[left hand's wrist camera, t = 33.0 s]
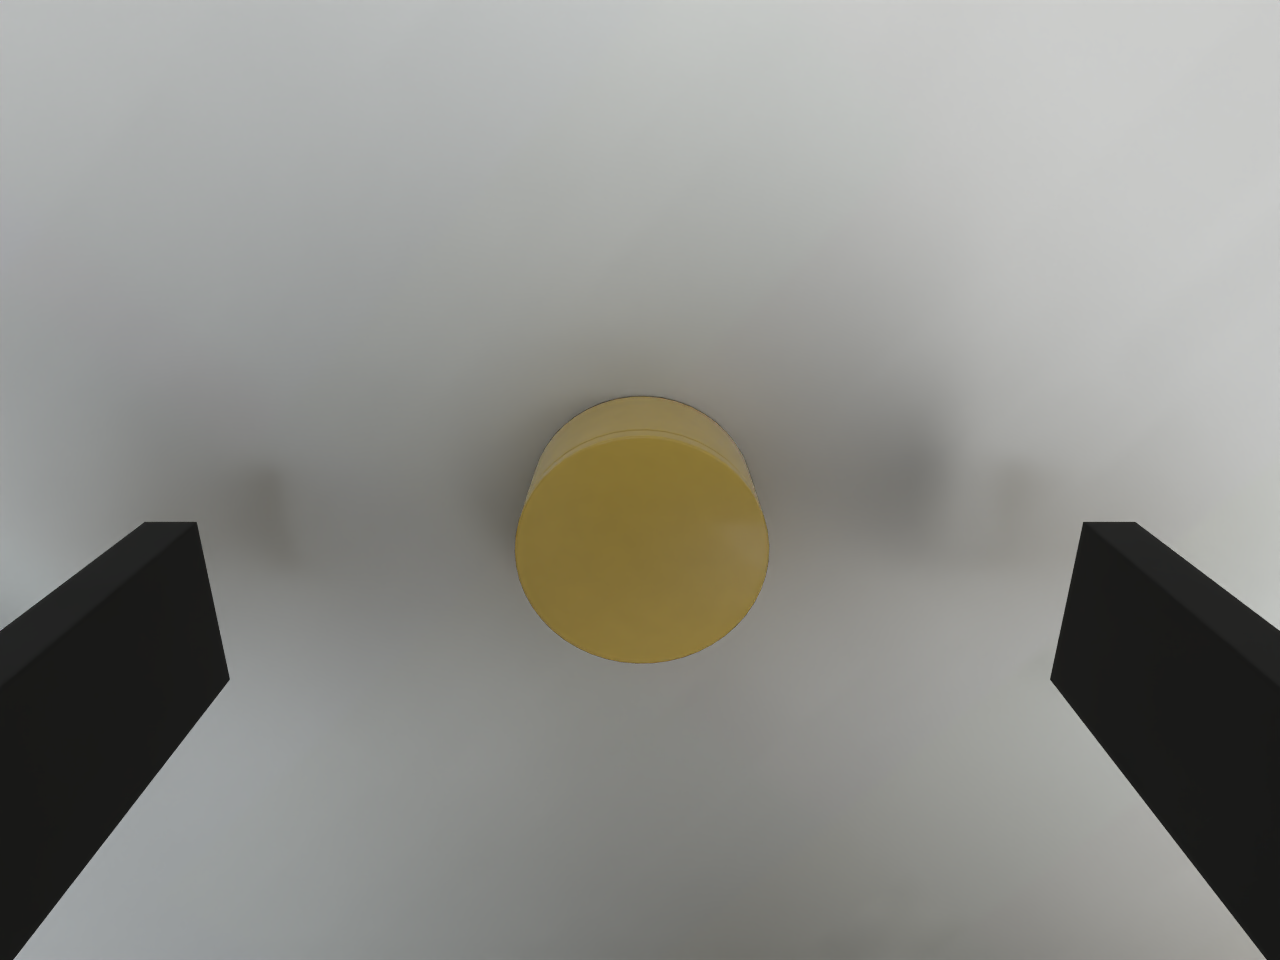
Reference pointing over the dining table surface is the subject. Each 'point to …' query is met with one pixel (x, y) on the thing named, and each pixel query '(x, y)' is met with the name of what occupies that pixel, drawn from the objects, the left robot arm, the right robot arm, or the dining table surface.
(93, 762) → the left robot arm
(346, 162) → the dining table surface
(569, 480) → the cap
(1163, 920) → the dining table surface
